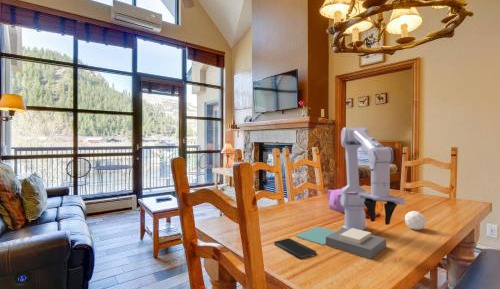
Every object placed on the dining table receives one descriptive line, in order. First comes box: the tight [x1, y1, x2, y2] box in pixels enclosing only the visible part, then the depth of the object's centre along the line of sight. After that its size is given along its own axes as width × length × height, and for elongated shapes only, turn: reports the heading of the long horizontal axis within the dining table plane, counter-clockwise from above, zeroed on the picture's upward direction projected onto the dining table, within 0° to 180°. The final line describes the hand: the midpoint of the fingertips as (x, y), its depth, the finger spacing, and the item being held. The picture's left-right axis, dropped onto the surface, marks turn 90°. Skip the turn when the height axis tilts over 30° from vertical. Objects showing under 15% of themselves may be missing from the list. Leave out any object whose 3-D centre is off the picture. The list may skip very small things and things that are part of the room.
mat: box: [295, 226, 337, 246], centre depth 105 cm, size 16×12×1 cm
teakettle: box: [326, 186, 359, 213], centre depth 145 cm, size 17×17×12 cm
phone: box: [274, 237, 317, 260], centre depth 92 cm, size 8×1×15 cm
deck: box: [325, 228, 387, 260], centre depth 94 cm, size 14×16×3 cm
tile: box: [340, 228, 372, 244], centre depth 94 cm, size 10×7×2 cm
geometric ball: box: [404, 210, 427, 231], centre depth 112 cm, size 8×8×8 cm
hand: (380, 222), depth 88 cm, fingers open, 4 cm apart
